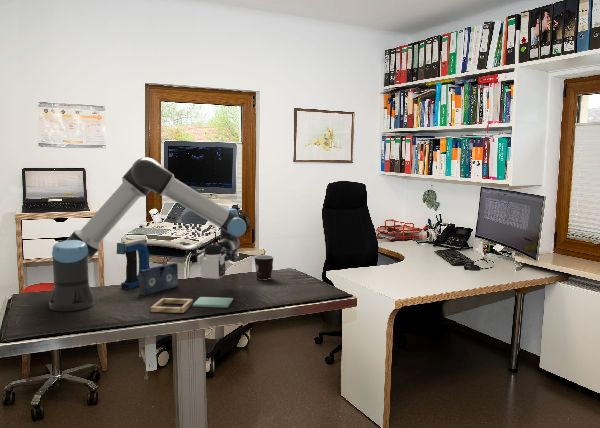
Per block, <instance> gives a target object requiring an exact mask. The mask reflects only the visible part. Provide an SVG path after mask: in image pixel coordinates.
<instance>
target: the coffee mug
mask: <svg viewBox="0 0 600 428" xmlns="http://www.w3.org/2000/svg"><path fill="white" fill-rule="evenodd" d="M273 262H274V256H273V255H265V254H263V255H262V254H261V255H256V256H254V264H255V265H254V267H255V275H256V279H257V278H259V279H268V278H271V279H272V273H273V272H272V271H273V268H274V265H273Z"/></svg>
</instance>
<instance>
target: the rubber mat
mask: <svg viewBox="0 0 600 428" xmlns="http://www.w3.org/2000/svg"><path fill="white" fill-rule="evenodd" d="M233 301H234V298H233V297H218V296H217V297H216V296H215V297H213V296H199V297H198V298H197V299H196V300H195V302H193V304H192V307H200V308H202V307H203V308H228V307H230V305H231V303H232V302H233Z"/></svg>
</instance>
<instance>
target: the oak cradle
mask: <svg viewBox="0 0 600 428" xmlns="http://www.w3.org/2000/svg"><path fill="white" fill-rule="evenodd" d="M164 304H175V305H177V304H178V305H179V304H180V305H182V306H181V307H180V306H163V305H164ZM193 304H194V299H193V298H174V297H171V298H169V297H168V298H166V297H162V298H161V299H159V300H157V302H155V303H154V304H153V305H152V306H150V312H151V313H155V312H156V313H173V314H175V313H177V314H179V313H180V314H181V313H182V314H183V313H185V312H186V311H187V310H188V309H189V308H190V307H191V306H193Z"/></svg>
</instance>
